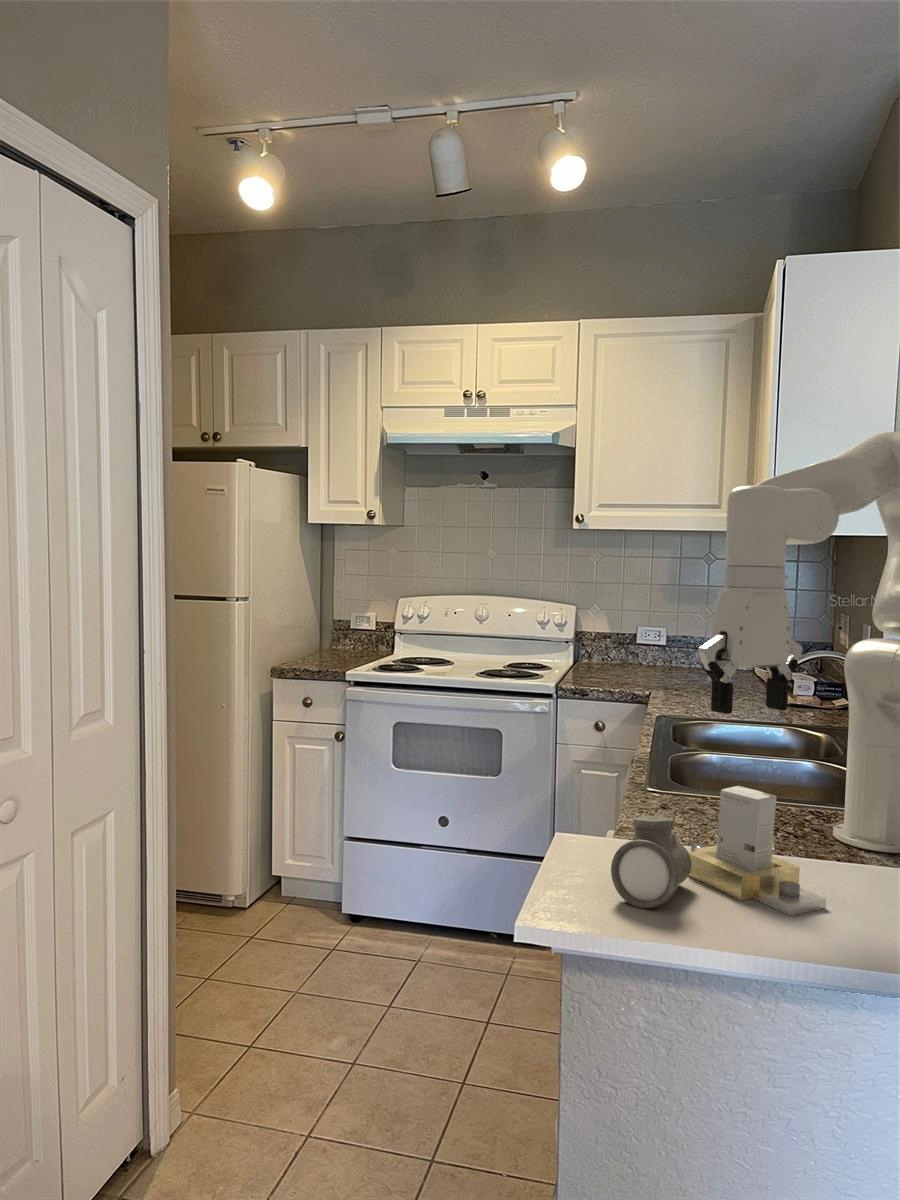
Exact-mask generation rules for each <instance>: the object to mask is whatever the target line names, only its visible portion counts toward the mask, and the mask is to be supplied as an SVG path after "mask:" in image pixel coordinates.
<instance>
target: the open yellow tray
mask: <svg viewBox="0 0 900 1200" xmlns="http://www.w3.org/2000/svg"><path fill="white" fill-rule="evenodd" d="M685 849H686V850H687V851H688V853H689V855H690V858H691V863H692V866H691V871H690V874H689V876H688V877H691V876H692V877H691V878H693V879H695V880H697V881H699V882H701V881H702V882H701V883H703V882H704V883H703V884H705V883H706V884H705V885H707V884H709V885H708V886H710V887H712V886H713V887H712V888H714V887H715V888H714V889H716V888H717V889H716V890H718V889H719V890H718V891H720V890H721V891H720V892H722V891H724V892H726V893H727V894H726V893H725V894H726V895H729V896H731V897H733V898H735V899H737V900H740V901H744V900H745V901H746V900H750V899H751V900H752V899H753V900H756V901H759V902H761V903H762V904H765V905H766V906H769V907H771V908H773V909H775V910H778V911H780V912H782V913H785V914H786V915H788V916H795V915H799V914H804V913H809V912H815V911H819V910H818V909H820V910H824V909H823V908H827V898H825V897H823V896H820V895H818V894H815V893H813V892H812V891H811V892H810V891H808V890H806V889H803V888H801V884H800V866H798V865H796V864H792V863H790V862H788V861H785V860H784V859H781V858H778V857H775V856H773V855H772V861H771V868H770V869H764V870H758V871H752V872H747V871H744V870H742V869H740V868H737V867H735V866H733V865H730V864H728V863H726V862H723V861H721V860H719V859H716V850H717V845H712V846H709V845H707V844H702V843H693V844H691V847H688V848H686V847H685ZM724 892H723V893H724ZM814 910H815V911H814Z"/></svg>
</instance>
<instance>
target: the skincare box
mask: <svg viewBox="0 0 900 1200" xmlns="http://www.w3.org/2000/svg"><path fill="white" fill-rule="evenodd" d="M776 805H777V796H776V795H774V794H770V793H766V792H763V791H760V790H757V789H752V788H748V787H744V786H741V785H736V786H732V787H731V786H730V787H727V788H723V789H721V790H720V797H719V809H718V824H717V826H718V827H717V837H716V846H717V850H716V859H719V860H721V861H723V862H726V863H728V864H730V865H733V866H735V867H737V868H740V869H742V870H744V871H747V872H752V871H758V870H764V869H770V868H771V861H772V856H773V845H774V833H775V820H776V809H777V806H776Z"/></svg>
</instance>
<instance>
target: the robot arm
mask: <svg viewBox="0 0 900 1200" xmlns="http://www.w3.org/2000/svg"><path fill="white" fill-rule="evenodd" d="M873 502H875V503H876V506H877V509H878V512H879V515H880V517H881V521H882V523H883V526H884V530H885V533H886V536H887V539H888V540H887V541H888V553H887V557H886V561H885V565H884V567H883V572H882V575H881V578H880V582H879V585H878V588H877V592H876V596H875V598H874V602H873V607H872V613H871V614H872V615H871V616H872V621H873V624H874V625H875V627H876V628H877V629H878V630H879V631H880V632H883V633H885V634H888V635H892V636H897V637H900V430H897V431H889V432H882V433H877V434H874V435H873V436H870V437H868V438H866V439H864V440H863V441H861V442H859V443H857V444H855V445H854V446H851V447H850V448H848V449H846V450H844V451H843V452H841V453H839V454H837V455H835V456H832V457H831V458H828V459H826V460H821V461H818V462H815V463H813V464H808V465H806V466H803V467H800V468H798V469H795V470H791V471H788V472H785V473H782V474H779V475H775V476H773V477H770V478H767V479H765V480H764V481H761V482H759V483H757V484H755V485H754V484H753V485H743V486H742V485H741V486H737V487H735V488H733V489H732V490H731V491H730V493H728V497H727V510H726V531H725V532H726V533H725V556H724V557H725V558H724V562H725V563H724V582H723V584H724V586H723V590H719V591H718V595H717V599H716V603H715V607H714V611H713V612H714V613H713V616H712V617H713V618H712V619H713V620H712V625H711V634H710V635H711V636H710V640H708V641H707V642H705V643H704V644H703V645H701V646H699V647H698V649H697V653H698V656H699V659H700V661H701V663H702V664H701V667H702V669H703V671H704V672H705V673H706V674H707V678H708V680H709V681H711V695H710V696H711V698H710V699H711V700H710V702H711V704H710V708H711V711H712V712H715V713H719V714H725V715H730V714H732V712H733V704H734V702H733V699H734V697H733V696H734V695H733V694H734V684H733V682H730V680H731V679H732V677H733V676H734V674H735V673H736V671H738V669H739V668H740V669H742V668H743V669H744V668H746V669H747V668H752V669H753V668H765V669H766V670H767V672H768V673H769V676H770V677H766V678H767V680H766V689H765V690H766V691H765V692H766V694H765V706H766V708H771V709H773V710H778V711H786V710H788V699H789V681H791V680H792V679H793V676H794V675H793V673H794V672H795V670H796V669H797V667H798V666H799V660H800V658H801V655H802V653H803V646H802V645H801V644H799V643H798V642H796V641H795V640H794V639H792V638H791V633H790V631H791V629H790V628H791V625H790V611H789V610H790V608H789V601H788V596H787V595H788V594H787V592H786V591H785V589H786V582H787V579H788V575H787V573H786V562H787V560H786V559H787V545H788V546H789V545H790V546H792V545H794V546H795V545H813V544H818V543H822V542H823V541H825V540H827V539H828V538H829V537H831V536H832V535H833V534H834V533H835V531H836V529H837V527H838V523H839V521H840V520H839V519H840V516H841V515H846V514H851V513H855V512H859V511H861V510H862V509H864V508H866V507H868V506H869V505H871V504H872V503H873ZM843 664H844V667H843V668H844V670H843V671H844V678H845V684H846V691H847V702H848V733H847V734H848V736H847V737H848V738H847V752H846V753H847V755H846V776H845V794H844V795H845V796H844V816H843V817H844V819H843V823H839V824H836V825H834V826H833V828H832V835H833V837H834V838H835V839H836V840H838V841H839V842H842V843H844V844H847V845H850V846H852V847H856V848H860V849H863V850H868V851H869V850H870V851H874V852H881V853H887V854H888V853H892V854H900V639H895V638H883V637H882V638H877V637H876V638H867V639H866V638H865V639H863V640H860V641H857V642H856V643H855V644H853V645H852V646H851V647H850V648H849V649H848V651H847V653H846V655H845V658H844V663H843Z"/></svg>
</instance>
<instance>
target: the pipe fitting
mask: <svg viewBox="0 0 900 1200" xmlns="http://www.w3.org/2000/svg"><path fill="white" fill-rule="evenodd" d="M674 821H675V820H674V819H673V818H672V817H671V818H670V817H667V816H666V817H665V816H656V815H655V816H653V815H652V816H651V815H650V816H646V815H644V816H643V815H641V816H635V817H634V816H633V818H632V827H634V837H633V840H631V841H628V842H626V843H624V844H623V845H621V846H620V847H619V848H618V849H617V850H616V852H615V853H614V856H613V858H612V861H611V864H610V865H611V867H610V872H611V873H610V875H611V880H612V883H613V886H614V888H615V890H616V891H617V894H619V896H620V897H621V898H622V899H623V900H624V901H625V902H626V903H628V904H630V905H631V906H633V907H636V908H639V909H654V908H658V907H660V906H662V905H664V904H665V903H667V902H668V901H669V900H671V899H672V897H673V896H674V894H675V893H676V891H677V889H678V887H679V885H680V884H682V883H683V882H685V881H686V879H687V878H688V877H690V876H689V874H690V871H691V866H692V863H691V858H690V855H689V853H688V851H687V850H686V847H685V846H684V845H683V844H681V842H679V841H677V836H676V833H675V832H673V830H672V829H674V826H675V824H674V823H675V822H674Z"/></svg>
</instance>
